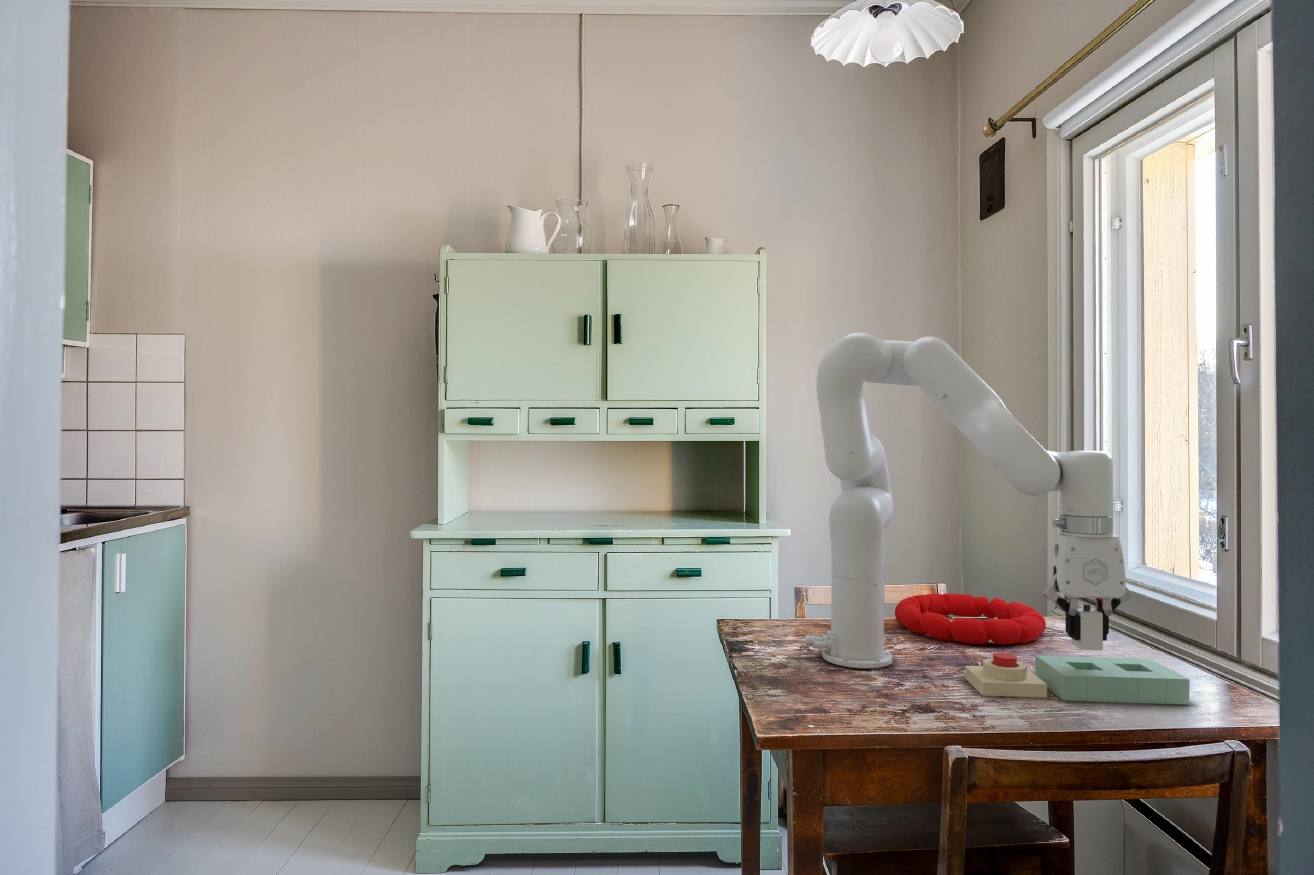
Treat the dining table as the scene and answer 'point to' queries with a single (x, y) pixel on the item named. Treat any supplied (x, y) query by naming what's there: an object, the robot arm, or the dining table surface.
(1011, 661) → the power button
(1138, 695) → the green socket board
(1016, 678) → the switch box
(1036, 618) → the decorative ring
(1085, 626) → the white block with knob
